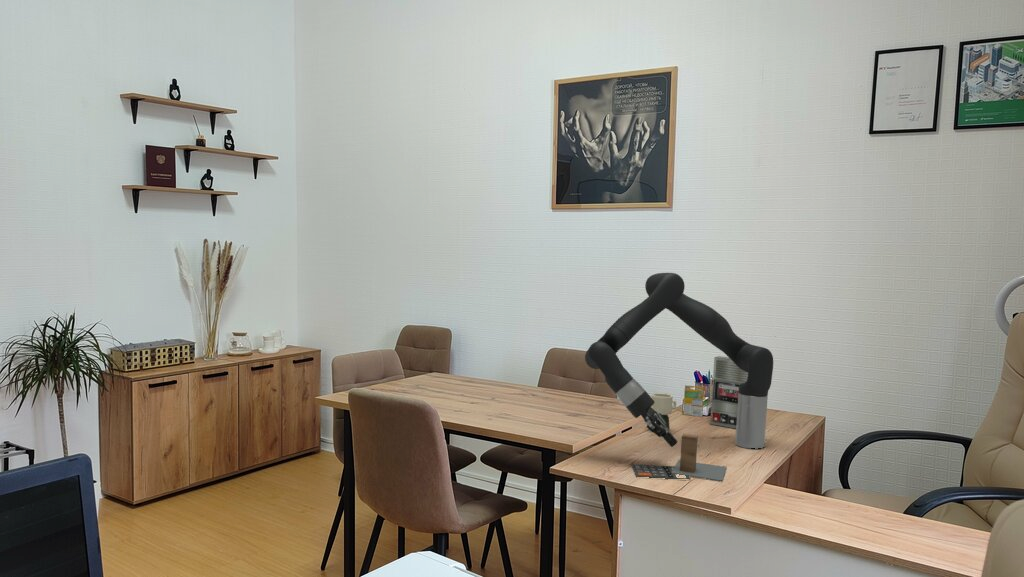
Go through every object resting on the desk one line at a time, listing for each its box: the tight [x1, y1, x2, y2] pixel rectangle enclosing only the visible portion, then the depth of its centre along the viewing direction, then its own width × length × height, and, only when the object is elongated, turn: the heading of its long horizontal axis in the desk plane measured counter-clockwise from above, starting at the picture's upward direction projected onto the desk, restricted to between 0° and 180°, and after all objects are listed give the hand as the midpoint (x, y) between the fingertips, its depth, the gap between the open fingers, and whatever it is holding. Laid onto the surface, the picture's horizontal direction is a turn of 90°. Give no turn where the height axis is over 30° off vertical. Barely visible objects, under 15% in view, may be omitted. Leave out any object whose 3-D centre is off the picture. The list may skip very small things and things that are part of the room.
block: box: [679, 432, 699, 473], centre depth 208 cm, size 4×4×10 cm
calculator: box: [631, 463, 691, 480], centre depth 206 cm, size 12×1×15 cm
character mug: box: [651, 392, 677, 431], centre depth 254 cm, size 11×7×13 cm, turn 103°
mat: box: [671, 459, 727, 482], centre depth 209 cm, size 14×14×1 cm
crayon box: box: [682, 385, 705, 417], centre depth 283 cm, size 7×3×12 cm, turn 77°
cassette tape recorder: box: [708, 355, 748, 429], centre depth 266 cm, size 14×6×25 cm, turn 55°
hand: (674, 444), depth 210 cm, fingers closed
